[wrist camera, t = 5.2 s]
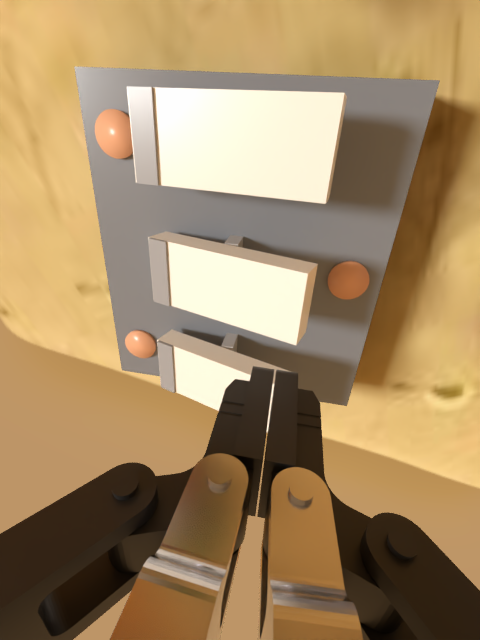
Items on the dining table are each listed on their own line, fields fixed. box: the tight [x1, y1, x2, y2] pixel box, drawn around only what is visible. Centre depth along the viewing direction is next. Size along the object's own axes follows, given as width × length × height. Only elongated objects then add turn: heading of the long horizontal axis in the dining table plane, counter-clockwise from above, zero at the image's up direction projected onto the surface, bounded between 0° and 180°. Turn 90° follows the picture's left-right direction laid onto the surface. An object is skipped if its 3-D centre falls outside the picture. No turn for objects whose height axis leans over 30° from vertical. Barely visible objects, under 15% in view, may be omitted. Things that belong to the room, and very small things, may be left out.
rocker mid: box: [148, 231, 318, 345], centre depth 19 cm, size 10×4×2 cm, turn 87°
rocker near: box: [127, 86, 347, 204], centre depth 15 cm, size 10×4×2 cm, turn 87°
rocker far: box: [157, 330, 291, 432], centre depth 22 cm, size 10×4×2 cm, turn 87°
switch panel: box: [75, 67, 439, 406], centre depth 22 cm, size 18×20×6 cm
